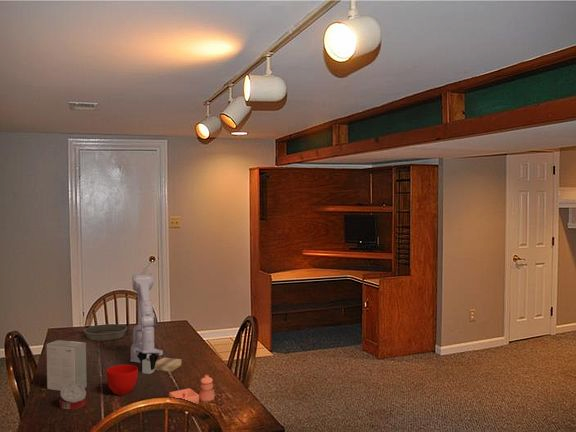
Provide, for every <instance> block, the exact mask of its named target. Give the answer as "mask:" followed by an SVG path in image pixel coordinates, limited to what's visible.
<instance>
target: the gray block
mask: <svg viewBox="0 0 576 432" xmlns="http://www.w3.org/2000/svg"><path fill="white" fill-rule="evenodd" d="M141 368H142V369H141V372H142V373H141V374H149V375H150V374H152V373H154V372H155V370H154V369H153V370H151V363H150V358H146V359H144V360H142V365H141Z"/></svg>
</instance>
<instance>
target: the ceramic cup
mask: <svg viewBox="0 0 576 432" xmlns="http://www.w3.org/2000/svg"><path fill="white" fill-rule="evenodd" d="M105 372H106V380H107V385H108V387H109V389H110V390H111V391H112V392H113V393H114V395H118V396H124V395H128V394H130V393H131V392H132V391H133V389H134V388H135V386H136V384H137V383H138V382H137V381H138V377H139V368H138V366H136V365H135V364H134V365H133V364H117V365H113V366H110V367H109V368H107V369H106V371H105Z"/></svg>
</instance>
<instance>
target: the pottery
mask: <svg viewBox="0 0 576 432" xmlns="http://www.w3.org/2000/svg"><path fill="white" fill-rule="evenodd" d="M213 381H214V380H213V378H212V377H210V376H209V374H205V375H204V377H202V378H201V379H200V382H201V384H200V389H201V390H199V392H198V393H197V392H196V391H194V390H193V389H192V388H185V389H179V390H175V391H169V392H168V398H169V397H175V398H182V399H185V400H188V401H191V402H193V403H196V404H199V405H200V401H201V402H210V401H214V400H215V396H216V393H215V390H214V389H213V388H214V383H213Z"/></svg>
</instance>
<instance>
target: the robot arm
mask: <svg viewBox="0 0 576 432" xmlns="http://www.w3.org/2000/svg"><path fill="white" fill-rule="evenodd" d="M131 280H132V290H133V291H134V292H136V294H137V313H138V314H137V315H138V323H137V324H136V325H135V326H134V327H133V329H132V342H133V343H132V344H131V346H130V360H129V361H130V362H131V363H133V362H134V363H140V365H141V366H142V360H144V359H146V358H150V363H151V370H153V369H154V368H155V363H156V361H158V358H159V356H163V354H164V353H163V352H164V351H163V350H162V349H158V348H155V327H156V316H155V312H154V309H153V308H154V307H153V303H152V302H151V301H150V290H152V289H153V286H154V276H153V274H152V273H147V274H145V273H143V274H133V275H132V279H131Z"/></svg>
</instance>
